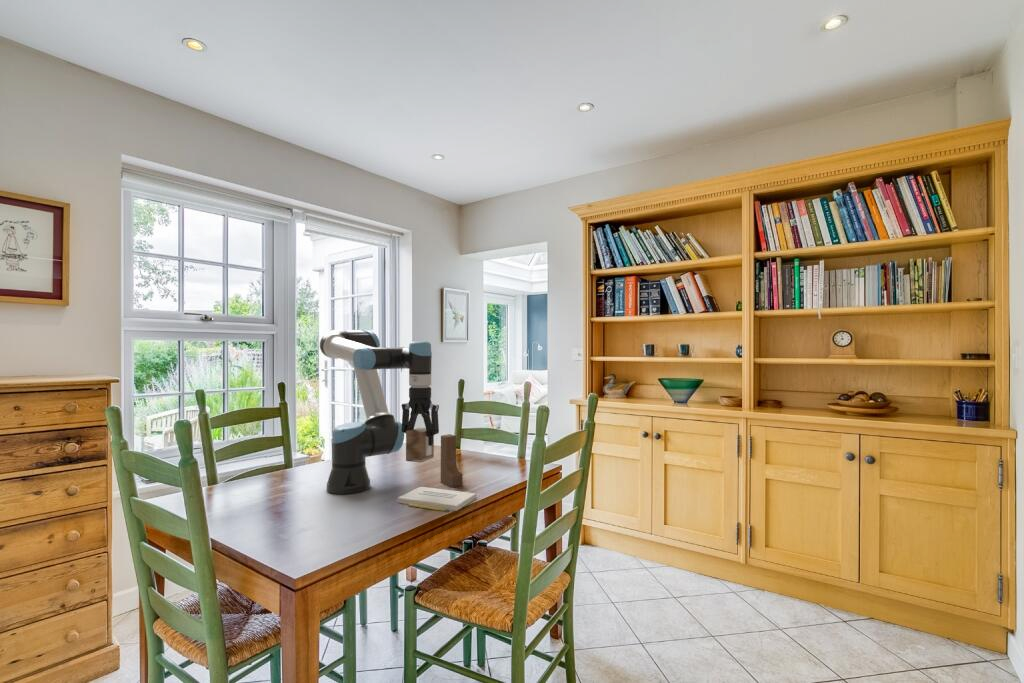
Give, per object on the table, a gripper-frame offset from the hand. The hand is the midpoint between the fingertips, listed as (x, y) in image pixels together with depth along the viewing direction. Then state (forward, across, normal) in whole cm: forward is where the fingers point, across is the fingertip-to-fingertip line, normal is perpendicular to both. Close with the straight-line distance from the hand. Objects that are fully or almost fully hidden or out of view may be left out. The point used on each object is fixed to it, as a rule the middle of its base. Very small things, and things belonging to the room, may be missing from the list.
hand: (420, 454), depth 167 cm
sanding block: (+2, 0, 0) cm, 2 cm away
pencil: (+15, +8, -8) cm, 19 cm away
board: (+15, +7, 0) cm, 17 cm away
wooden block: (+15, +2, +19) cm, 24 cm away
